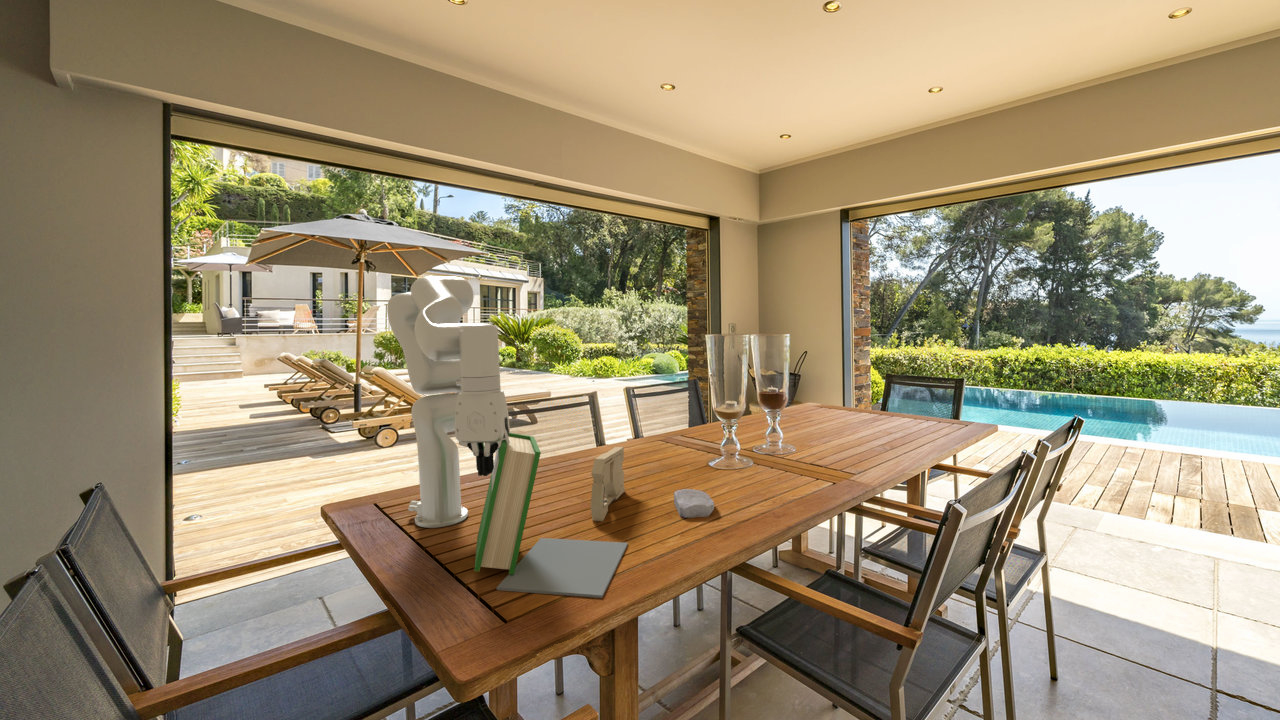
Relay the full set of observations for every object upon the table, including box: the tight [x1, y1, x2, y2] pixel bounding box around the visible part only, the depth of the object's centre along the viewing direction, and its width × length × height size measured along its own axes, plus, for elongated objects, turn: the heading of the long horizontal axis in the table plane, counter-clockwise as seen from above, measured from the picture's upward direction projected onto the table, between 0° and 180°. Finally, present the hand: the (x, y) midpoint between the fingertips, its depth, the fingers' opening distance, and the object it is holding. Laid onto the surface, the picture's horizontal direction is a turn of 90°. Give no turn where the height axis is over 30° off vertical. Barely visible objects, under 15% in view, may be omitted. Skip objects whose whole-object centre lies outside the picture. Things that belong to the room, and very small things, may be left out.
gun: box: [590, 446, 626, 522], centre depth 137 cm, size 24×3×15 cm, turn 168°
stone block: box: [673, 488, 715, 519], centre depth 133 cm, size 12×5×10 cm
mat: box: [496, 537, 629, 599], centre depth 104 cm, size 20×22×1 cm
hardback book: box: [474, 432, 542, 575], centre depth 107 cm, size 18×7×24 cm, turn 16°
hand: (485, 473), depth 105 cm, fingers closed
